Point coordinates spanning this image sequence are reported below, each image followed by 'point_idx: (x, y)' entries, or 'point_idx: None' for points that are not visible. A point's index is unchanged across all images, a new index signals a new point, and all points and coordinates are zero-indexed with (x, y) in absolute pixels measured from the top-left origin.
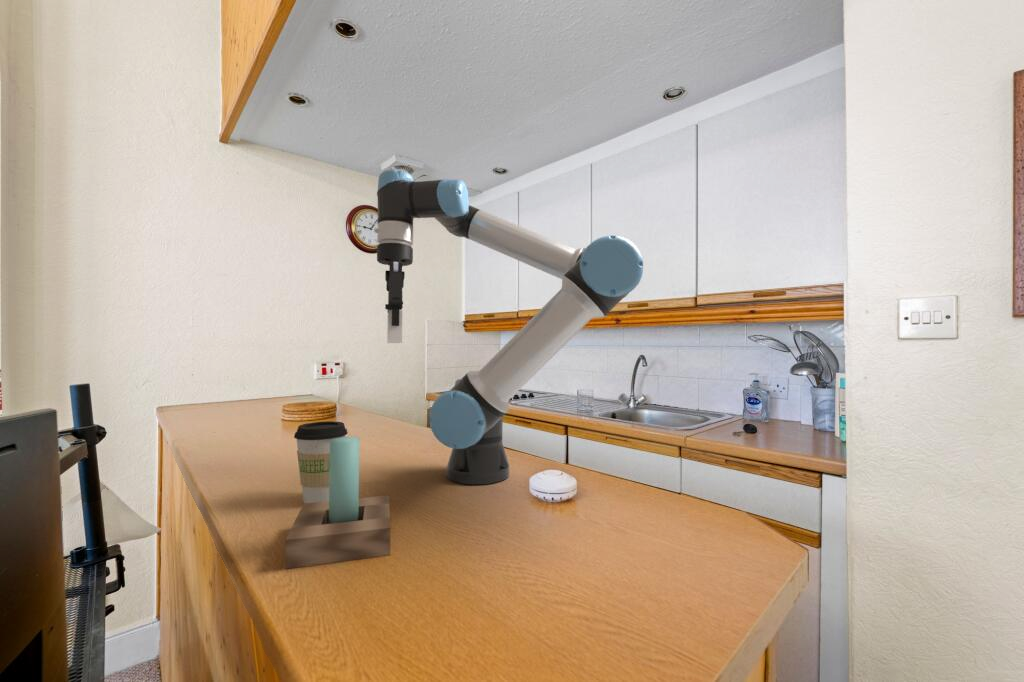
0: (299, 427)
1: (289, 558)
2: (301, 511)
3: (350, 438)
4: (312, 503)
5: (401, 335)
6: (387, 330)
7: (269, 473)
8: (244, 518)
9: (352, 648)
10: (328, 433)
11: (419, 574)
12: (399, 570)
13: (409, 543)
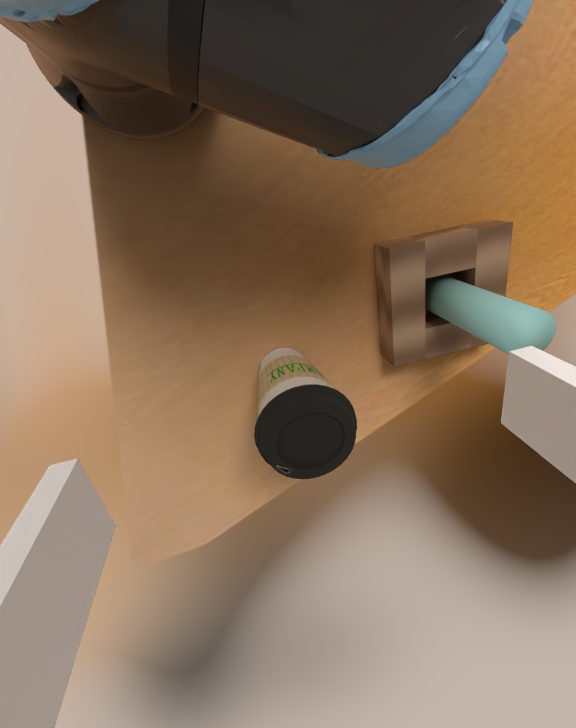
0: (332, 469)
1: None
2: (422, 358)
3: (525, 329)
4: (397, 355)
5: (572, 369)
6: (82, 625)
7: (147, 495)
8: None
9: None
10: (349, 409)
11: (543, 173)
12: (526, 200)
13: (465, 196)
